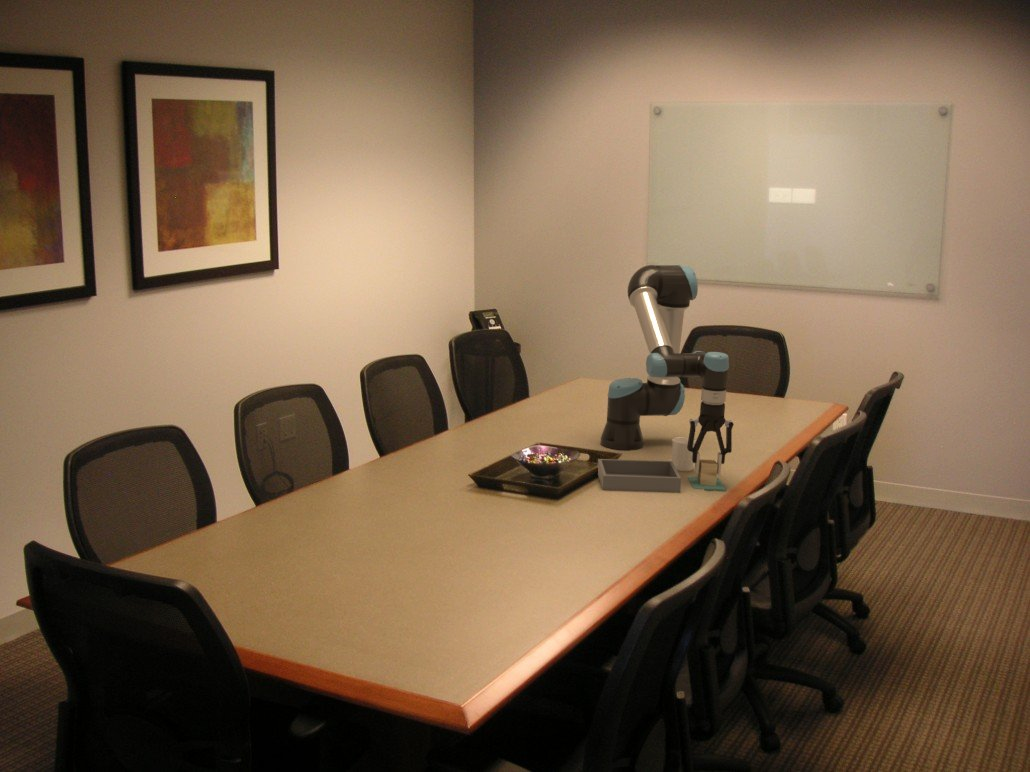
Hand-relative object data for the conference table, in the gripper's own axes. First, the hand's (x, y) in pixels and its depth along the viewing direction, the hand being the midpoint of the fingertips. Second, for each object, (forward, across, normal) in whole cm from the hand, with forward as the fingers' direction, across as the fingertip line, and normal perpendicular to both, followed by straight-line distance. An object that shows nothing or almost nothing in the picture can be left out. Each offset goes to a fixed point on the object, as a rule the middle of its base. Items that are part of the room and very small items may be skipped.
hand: (707, 472), depth 347 cm
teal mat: (+4, 0, 0) cm, 4 cm away
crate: (+4, -22, -1) cm, 22 cm away
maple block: (+3, 0, 0) cm, 3 cm away
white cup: (+4, -5, +16) cm, 17 cm away
